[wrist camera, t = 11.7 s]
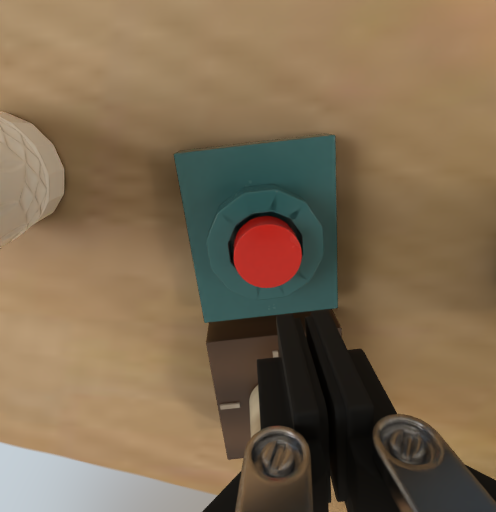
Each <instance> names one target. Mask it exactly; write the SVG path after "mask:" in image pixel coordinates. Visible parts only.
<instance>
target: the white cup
mask: <svg viewBox="0 0 496 512" xmlns="http://www.w3.org/2000/svg"><path fill="white" fill-rule="evenodd" d="M63 195H64V167H63V165H62V163H61V160H60V158H59V156H58V154H57V151H56V149H55V147H54V145H53V144H52V143H51V142H50V141H49V140H48V139H47V138H46V137H45V136H44V135H43V134H42V133H41V132H40V131H39V130H38V129H37V128H36V127H35V126H34V125H33V124H32V123H30V122H27V121H25V120H23V119H20V118H18V117H16V116H14V115H11V114H9V113H7V112H2V111H0V249H1V248H2V247H3V246H5V245H7V244H8V243H10V242H11V241H13V240H14V239H16V238H17V237H19V236H20V235H22V234H24V233H25V232H26V231H27V230H28V229H29V228H30V227H31V226H32V225H34V224H35V223H37V222H38V221H40V220H42V219H43V218H45V217H47V216H49V215H50V214H52V213H53V212H54V211H55V209H56V207H57V205H58V204H59V202H60V200H61V198H62V197H63Z"/></svg>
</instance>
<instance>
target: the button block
mask: <svg viewBox="0 0 496 512" xmlns="http://www.w3.org/2000/svg"><path fill="white" fill-rule="evenodd" d="M174 159H175V165H176V170H177V175H178V181H179V186H180V192H181V197H182V203H183V208H184V214H185V219H186V224H187V230H188V235H189V241H190V246H191V252H192V257H193V263H194V268H195V273H196V279H197V284H198V290H199V295H200V301H201V306H202V312H203V317H204V322H205V323H208V322H217V321H226V320H235V319H244V318H253V317H262V316H271V315H280V314H289V313H298V312H307V311H316V310H325V309H334V308H338V280H337V210H336V139H335V135H332V134H318V135H309V136H301V137H292V138H284V139H275V140H267V141H258V142H250V143H241V144H233V145H224V146H216V147H207V148H199V149H190V150H182V151H179V152H177V153H175V154H174ZM260 216H273V217H277V218H279V219H281V220H283V221H285V222H286V223H287V224H288V225H289V226H290V227H291V228H292V230H293V231H294V233H295V235H296V237H297V239H298V241H299V243H300V246H301V249H302V260H301V264H300V267H299V269H298V271H297V272H296V274H295V275H294V276H293V277H292V278H291V279H290V280H289V281H287V282H286V283H284V284H282V285H280V286H277V287H272V288H261V287H257V286H254V285H251V284H249V283H248V282H246V281H245V280H244V279H243V278H242V277H241V276H240V275H239V273H238V272H237V270H236V268H235V264H234V240H235V237H236V234H237V232H238V231H239V229H240V228H241V227H242V226H243V225H244V224H245V223H246V222H248V221H249V220H251V219H253V218H256V217H260Z"/></svg>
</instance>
